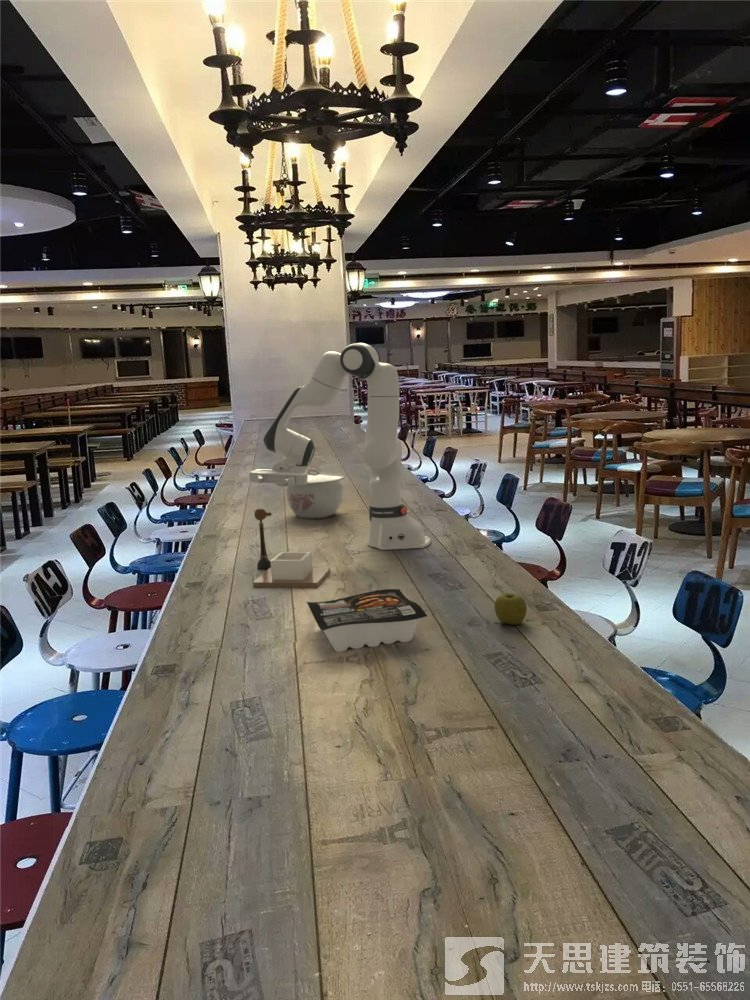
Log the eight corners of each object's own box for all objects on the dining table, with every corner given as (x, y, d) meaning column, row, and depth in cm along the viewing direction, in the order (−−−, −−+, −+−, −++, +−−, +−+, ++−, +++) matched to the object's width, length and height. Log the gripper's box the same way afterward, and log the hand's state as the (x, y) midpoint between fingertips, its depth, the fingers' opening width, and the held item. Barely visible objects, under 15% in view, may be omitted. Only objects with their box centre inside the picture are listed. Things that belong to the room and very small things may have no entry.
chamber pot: (345, 521, 321) (343, 471, 317) (279, 524, 322) (276, 474, 318) (349, 507, 348) (346, 462, 344) (288, 510, 349) (285, 465, 345)
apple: (504, 616, 198) (503, 589, 196) (532, 621, 193) (532, 594, 191) (488, 625, 192) (488, 597, 191) (517, 631, 187) (517, 602, 186)
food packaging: (399, 586, 203) (427, 613, 181) (400, 614, 204) (428, 643, 183) (304, 599, 197) (322, 627, 175) (306, 627, 198) (324, 659, 176)
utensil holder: (330, 572, 246) (329, 549, 244) (317, 587, 230) (315, 563, 229) (270, 572, 250) (268, 549, 248) (253, 587, 234) (251, 563, 233)
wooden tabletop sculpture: (275, 565, 257) (271, 506, 254) (274, 569, 253) (269, 509, 249) (258, 566, 257) (253, 507, 253) (256, 570, 253) (251, 510, 249)
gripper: (255, 463, 276) (243, 470, 262) (311, 466, 273) (302, 473, 260) (255, 481, 277) (243, 489, 264) (311, 483, 274) (302, 492, 261)
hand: (273, 481), depth 262 cm, fingers open, 8 cm apart
